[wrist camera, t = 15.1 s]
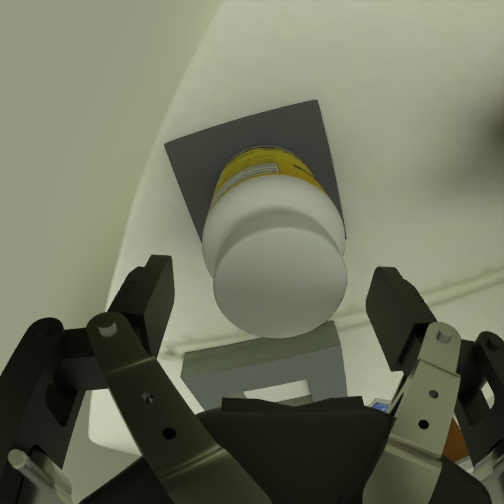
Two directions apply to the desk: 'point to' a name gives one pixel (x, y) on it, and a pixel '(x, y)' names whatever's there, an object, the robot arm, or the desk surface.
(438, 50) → the desk surface
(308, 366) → the block
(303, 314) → the pill bottle
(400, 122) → the desk surface
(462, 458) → the disposable coffee cup
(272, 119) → the pad
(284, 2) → the desk surface
